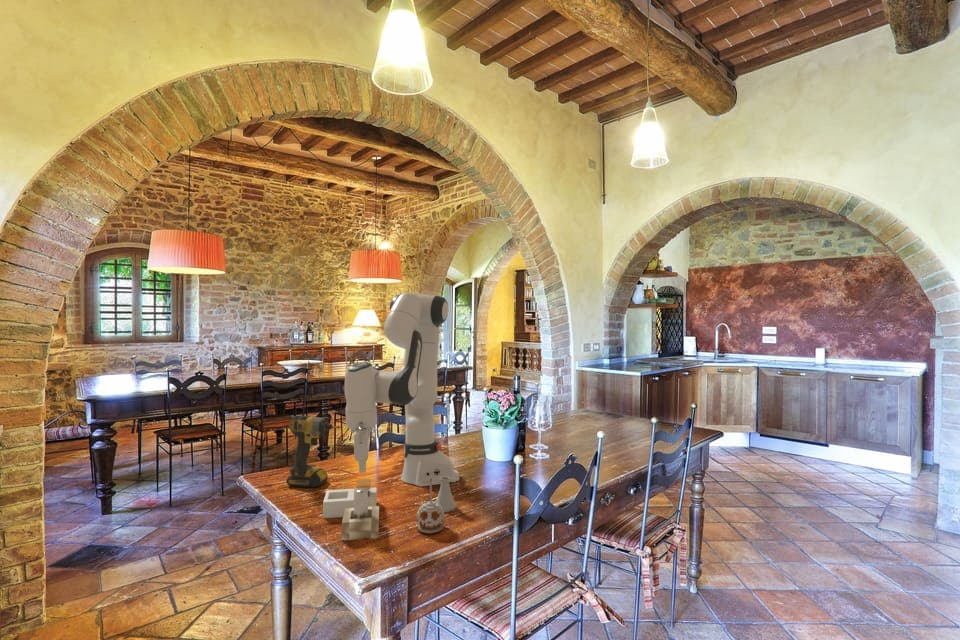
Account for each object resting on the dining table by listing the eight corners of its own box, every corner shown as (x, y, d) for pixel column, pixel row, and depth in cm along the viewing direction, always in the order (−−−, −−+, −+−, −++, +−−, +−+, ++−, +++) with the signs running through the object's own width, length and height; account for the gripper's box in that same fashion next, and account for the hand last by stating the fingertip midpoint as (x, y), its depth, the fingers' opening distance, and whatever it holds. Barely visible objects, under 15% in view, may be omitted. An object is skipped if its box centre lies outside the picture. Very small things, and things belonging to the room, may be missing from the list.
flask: (447, 514, 149) (447, 483, 149) (429, 509, 153) (429, 479, 153) (460, 507, 155) (460, 476, 155) (442, 502, 159) (442, 472, 159)
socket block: (376, 502, 158) (376, 487, 158) (375, 514, 148) (376, 498, 148) (326, 505, 155) (326, 490, 155) (322, 518, 145) (323, 502, 145)
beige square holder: (378, 522, 143) (379, 506, 143) (378, 537, 133) (378, 520, 133) (344, 525, 141) (344, 508, 141) (341, 540, 131) (341, 522, 131)
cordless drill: (332, 491, 168) (333, 421, 168) (282, 486, 172) (282, 418, 172) (344, 482, 177) (345, 416, 177) (296, 478, 181) (297, 413, 181)
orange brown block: (370, 500, 156) (371, 479, 156) (370, 507, 150) (370, 485, 150) (357, 501, 155) (357, 479, 155) (356, 508, 149) (356, 486, 149)
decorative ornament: (415, 534, 135) (416, 482, 135) (419, 523, 143) (419, 473, 143) (442, 535, 135) (443, 483, 135) (444, 523, 143) (445, 474, 143)
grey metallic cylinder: (367, 527, 139) (368, 487, 139) (367, 533, 135) (367, 492, 135) (354, 528, 139) (354, 488, 138) (353, 534, 135) (353, 493, 135)
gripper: (372, 426, 127) (373, 477, 127) (373, 411, 147) (374, 455, 147) (347, 428, 126) (349, 480, 126) (352, 412, 146) (354, 457, 146)
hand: (363, 466), depth 137 cm, fingers open, 8 cm apart
